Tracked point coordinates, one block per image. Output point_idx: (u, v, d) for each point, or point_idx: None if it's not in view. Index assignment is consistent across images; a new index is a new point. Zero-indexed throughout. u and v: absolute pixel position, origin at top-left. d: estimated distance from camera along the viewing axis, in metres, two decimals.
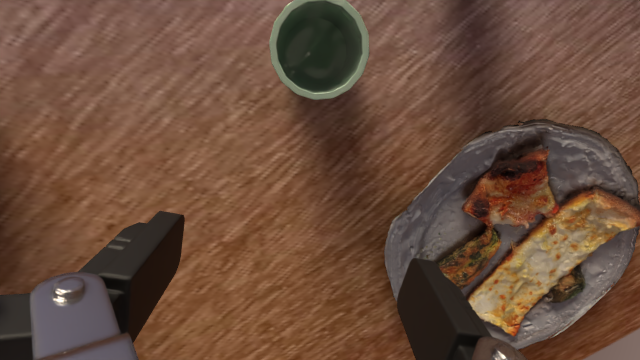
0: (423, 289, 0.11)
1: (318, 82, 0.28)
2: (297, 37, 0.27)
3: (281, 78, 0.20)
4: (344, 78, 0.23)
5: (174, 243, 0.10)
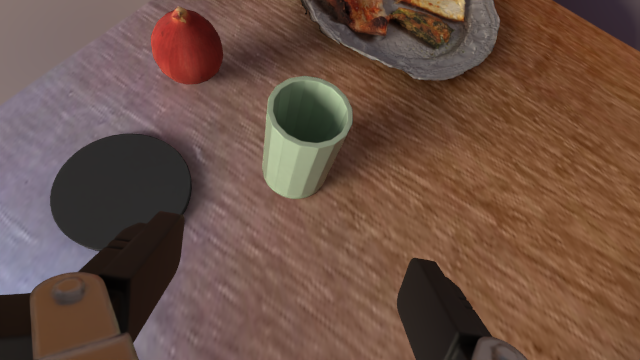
0: (423, 289, 0.11)
1: None
2: None
3: (344, 135, 0.22)
4: (321, 107, 0.26)
5: (174, 243, 0.10)
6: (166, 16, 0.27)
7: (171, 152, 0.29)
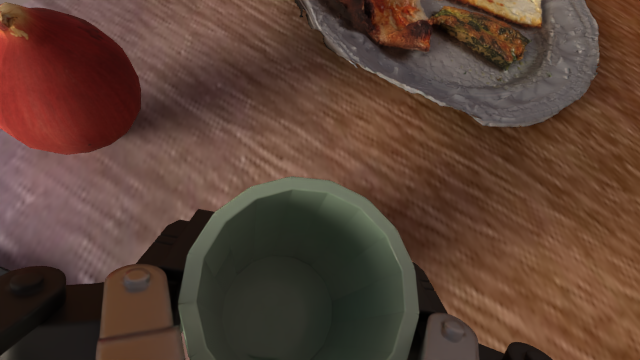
0: None
1: (325, 291, 0.16)
2: (262, 351, 0.15)
3: None
4: (331, 229, 0.12)
5: None
6: None
7: None
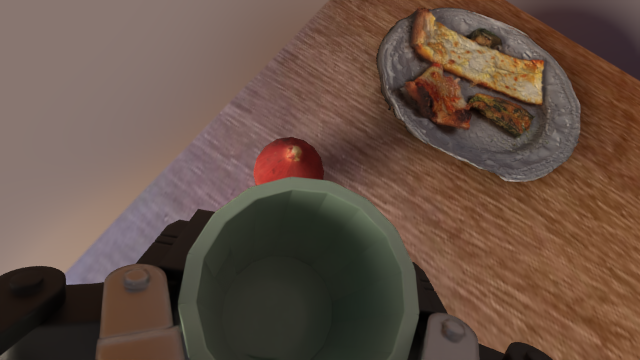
0: None
1: (325, 291, 0.16)
2: (262, 351, 0.15)
3: None
4: (331, 229, 0.12)
5: None
6: (276, 151, 0.26)
7: None
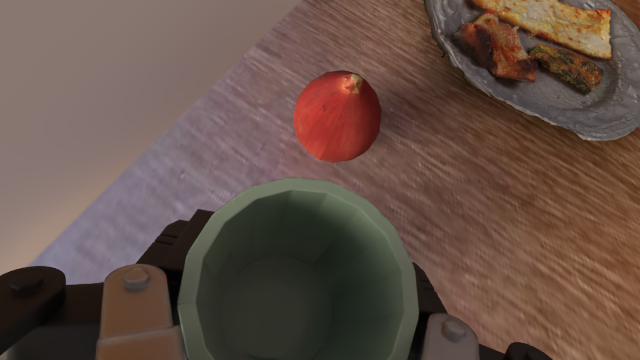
0: None
1: (325, 291, 0.16)
2: (261, 352, 0.15)
3: None
4: (331, 229, 0.12)
5: None
6: (328, 83, 0.20)
7: None
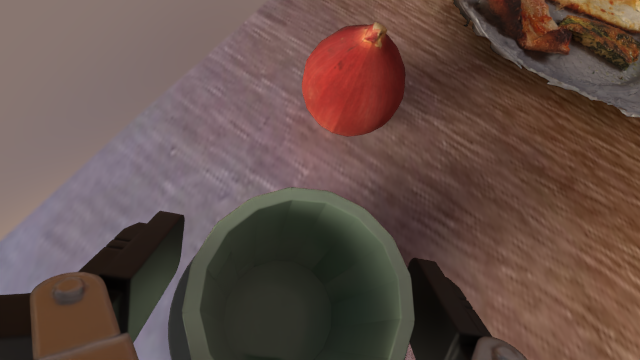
0: (423, 289, 0.11)
1: (325, 295, 0.17)
2: (263, 355, 0.15)
3: None
4: (330, 237, 0.12)
5: (173, 243, 0.10)
6: (344, 37, 0.17)
7: None
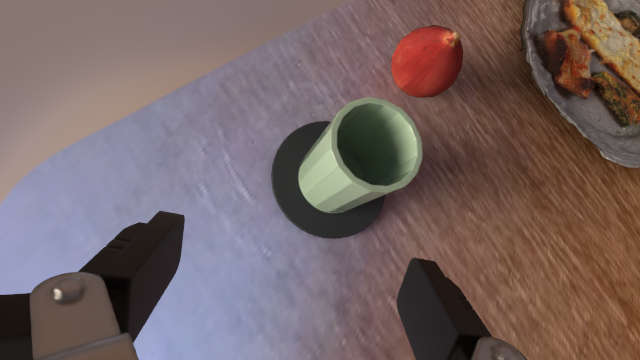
0: (423, 289, 0.11)
1: (362, 178, 0.28)
2: None
3: (403, 185, 0.20)
4: (388, 135, 0.23)
5: (174, 243, 0.10)
6: (434, 32, 0.27)
7: None
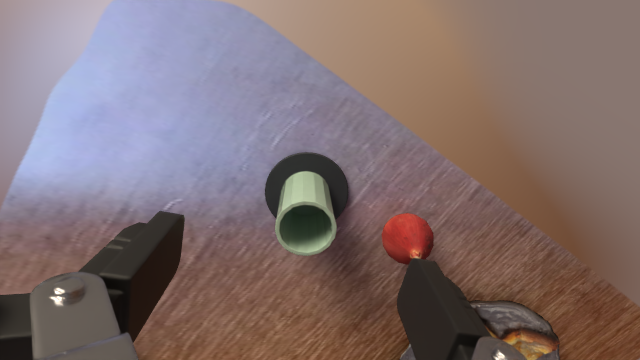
0: (422, 289, 0.11)
1: (311, 213, 0.41)
2: None
3: (286, 248, 0.33)
4: (326, 229, 0.35)
5: (174, 243, 0.10)
6: (419, 242, 0.36)
7: None
